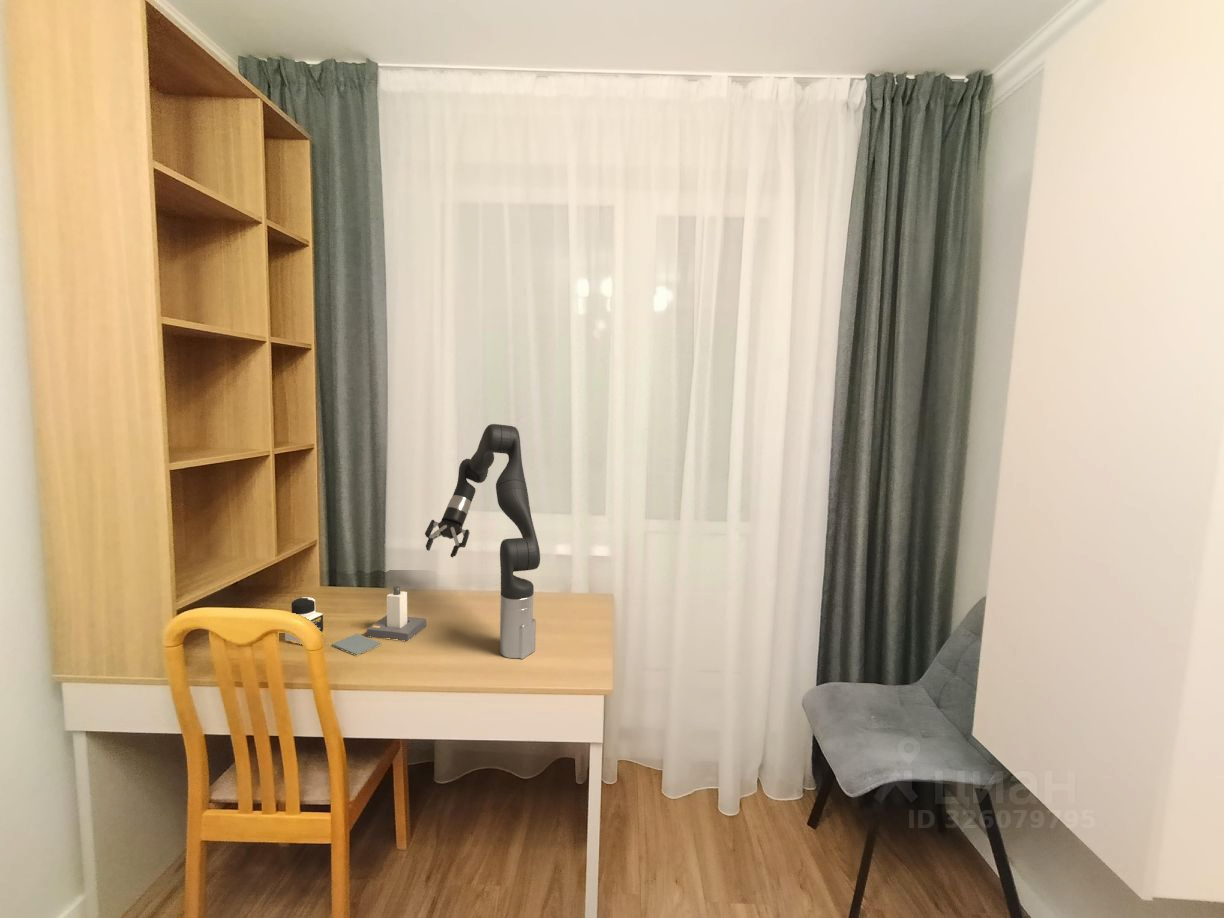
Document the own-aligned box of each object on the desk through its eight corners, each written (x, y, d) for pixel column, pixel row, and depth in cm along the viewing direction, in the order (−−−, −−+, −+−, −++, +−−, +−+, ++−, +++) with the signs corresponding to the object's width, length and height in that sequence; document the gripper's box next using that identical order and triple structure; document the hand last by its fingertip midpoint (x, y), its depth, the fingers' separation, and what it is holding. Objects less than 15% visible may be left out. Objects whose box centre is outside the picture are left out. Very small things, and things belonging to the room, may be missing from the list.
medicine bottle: (303, 646, 158) (302, 605, 156) (284, 641, 160) (283, 601, 159) (324, 636, 165) (322, 597, 163) (305, 631, 167) (304, 593, 165)
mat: (381, 645, 160) (381, 643, 160) (356, 656, 153) (356, 654, 153) (356, 635, 166) (356, 633, 166) (331, 645, 159) (331, 643, 159)
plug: (407, 629, 171) (406, 585, 169) (400, 635, 167) (399, 590, 165) (394, 627, 172) (394, 584, 170) (387, 633, 168) (386, 589, 166)
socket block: (426, 626, 174) (426, 617, 173) (407, 641, 163) (407, 632, 163) (387, 621, 176) (387, 613, 175) (367, 636, 165) (367, 628, 165)
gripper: (436, 501, 194) (417, 544, 187) (475, 512, 194) (458, 555, 187) (439, 509, 201) (421, 551, 193) (477, 519, 201) (461, 562, 193)
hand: (439, 553), depth 190 cm, fingers open, 8 cm apart
